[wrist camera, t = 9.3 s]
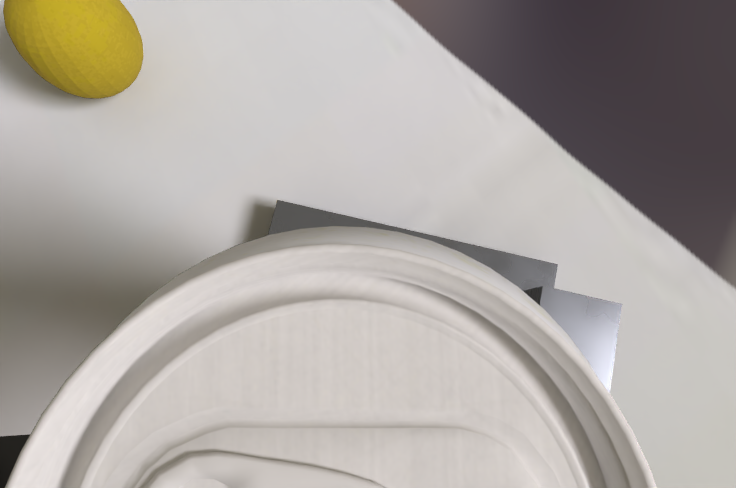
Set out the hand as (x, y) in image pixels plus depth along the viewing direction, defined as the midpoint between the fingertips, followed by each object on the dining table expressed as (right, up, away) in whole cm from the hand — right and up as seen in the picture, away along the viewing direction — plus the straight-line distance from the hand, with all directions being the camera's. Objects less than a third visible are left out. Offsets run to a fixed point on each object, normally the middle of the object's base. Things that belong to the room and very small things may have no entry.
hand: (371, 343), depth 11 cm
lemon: (-15, +12, +18) cm, 26 cm away
